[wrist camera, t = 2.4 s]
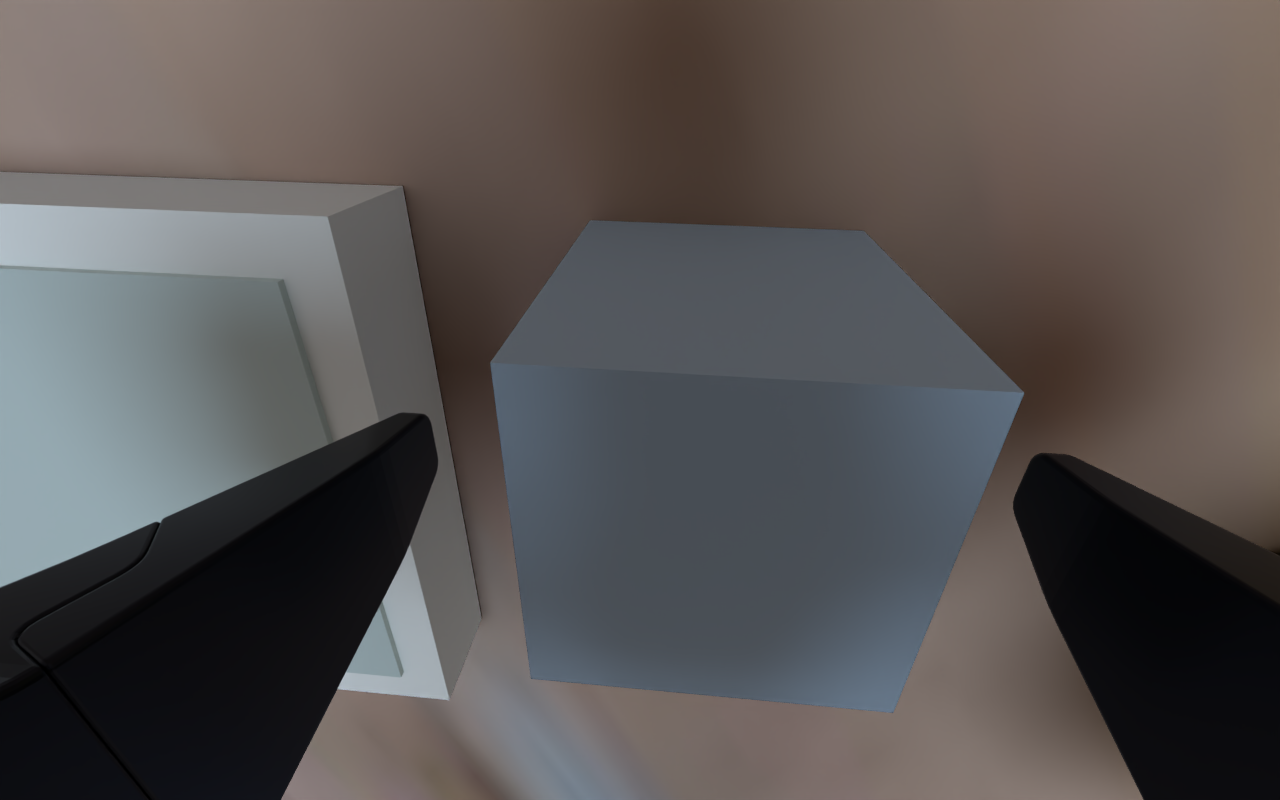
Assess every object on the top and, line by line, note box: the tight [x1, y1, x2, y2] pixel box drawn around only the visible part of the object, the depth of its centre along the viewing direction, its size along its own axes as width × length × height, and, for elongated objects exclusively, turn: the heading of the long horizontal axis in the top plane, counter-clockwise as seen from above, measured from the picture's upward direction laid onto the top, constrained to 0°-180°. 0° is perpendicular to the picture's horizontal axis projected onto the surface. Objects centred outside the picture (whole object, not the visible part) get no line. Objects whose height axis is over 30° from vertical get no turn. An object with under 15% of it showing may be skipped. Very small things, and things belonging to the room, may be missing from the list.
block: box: [490, 220, 1024, 713], centre depth 9 cm, size 5×5×6 cm
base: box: [0, 172, 482, 700], centre depth 13 cm, size 12×12×3 cm
